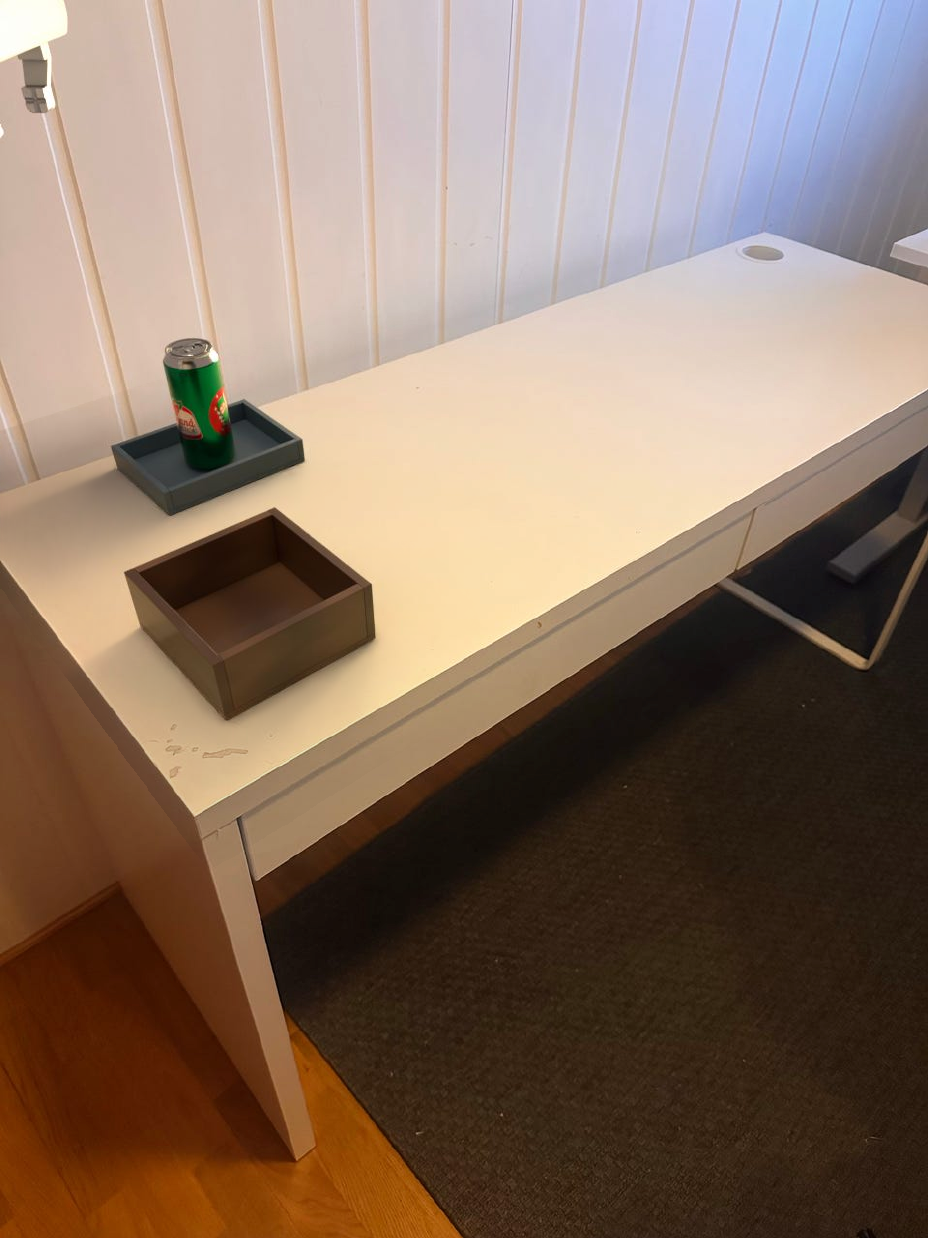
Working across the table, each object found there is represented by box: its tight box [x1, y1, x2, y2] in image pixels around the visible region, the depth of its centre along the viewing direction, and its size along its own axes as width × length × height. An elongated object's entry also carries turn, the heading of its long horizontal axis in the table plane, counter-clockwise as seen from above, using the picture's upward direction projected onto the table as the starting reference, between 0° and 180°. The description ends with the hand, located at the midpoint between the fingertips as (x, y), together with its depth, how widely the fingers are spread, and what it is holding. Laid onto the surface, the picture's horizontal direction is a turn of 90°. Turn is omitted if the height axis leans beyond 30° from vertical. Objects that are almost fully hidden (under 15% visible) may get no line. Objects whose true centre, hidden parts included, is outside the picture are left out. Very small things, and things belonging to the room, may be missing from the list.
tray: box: [110, 398, 306, 516], centre depth 90 cm, size 15×11×2 cm
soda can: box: [162, 337, 236, 471], centre depth 87 cm, size 5×5×12 cm
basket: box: [123, 506, 377, 721], centre depth 70 cm, size 14×14×6 cm
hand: (17, 125), depth 69 cm, fingers open, 8 cm apart
